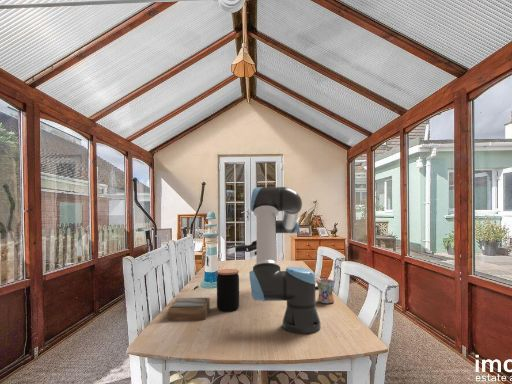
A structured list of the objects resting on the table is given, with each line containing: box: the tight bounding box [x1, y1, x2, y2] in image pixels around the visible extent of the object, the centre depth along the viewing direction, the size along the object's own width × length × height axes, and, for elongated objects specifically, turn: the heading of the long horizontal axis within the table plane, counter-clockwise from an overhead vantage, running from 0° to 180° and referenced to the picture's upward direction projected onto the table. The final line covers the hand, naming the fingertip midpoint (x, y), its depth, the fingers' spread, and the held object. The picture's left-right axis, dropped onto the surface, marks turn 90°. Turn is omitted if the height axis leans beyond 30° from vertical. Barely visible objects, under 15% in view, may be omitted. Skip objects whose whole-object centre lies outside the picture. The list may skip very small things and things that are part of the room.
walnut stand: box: [167, 297, 211, 321], centre depth 150 cm, size 16×16×5 cm
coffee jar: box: [216, 268, 240, 313], centre depth 158 cm, size 11×11×18 cm
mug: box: [316, 278, 336, 304], centre depth 168 cm, size 12×9×11 cm
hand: (239, 253), depth 166 cm, fingers open, 13 cm apart
